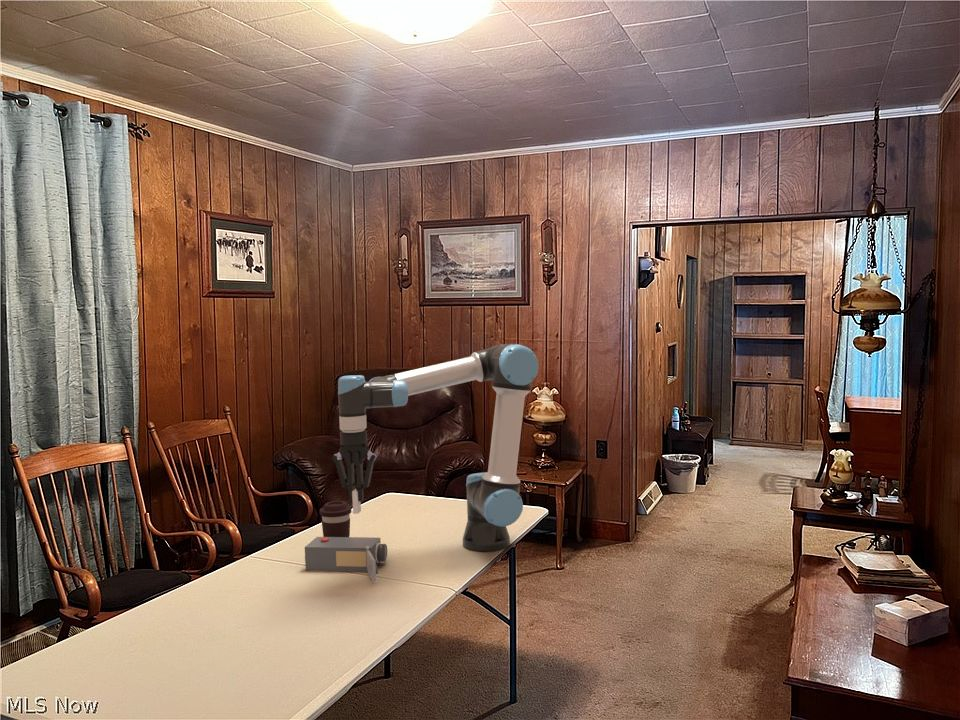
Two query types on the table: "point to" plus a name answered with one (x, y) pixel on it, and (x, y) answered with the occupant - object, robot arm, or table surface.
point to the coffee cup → (336, 519)
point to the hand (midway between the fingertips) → (357, 512)
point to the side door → (371, 566)
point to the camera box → (343, 553)
